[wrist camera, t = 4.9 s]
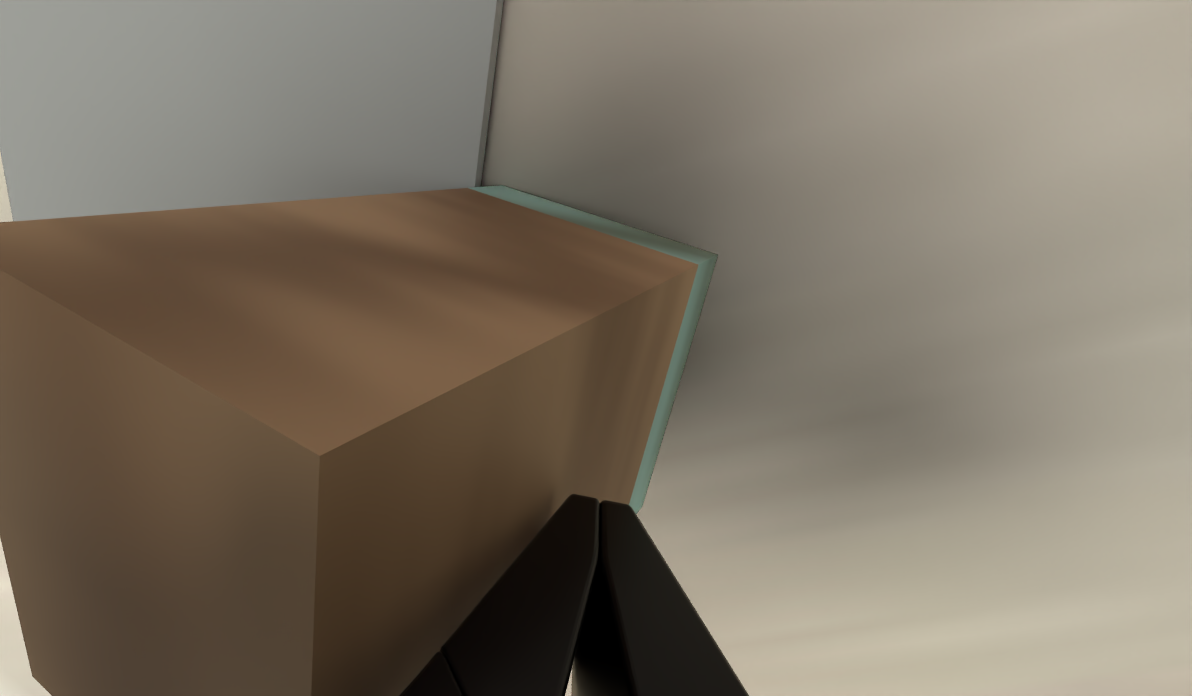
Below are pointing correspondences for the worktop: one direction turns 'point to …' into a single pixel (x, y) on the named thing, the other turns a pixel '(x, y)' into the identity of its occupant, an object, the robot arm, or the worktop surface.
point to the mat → (239, 101)
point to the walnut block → (313, 426)
